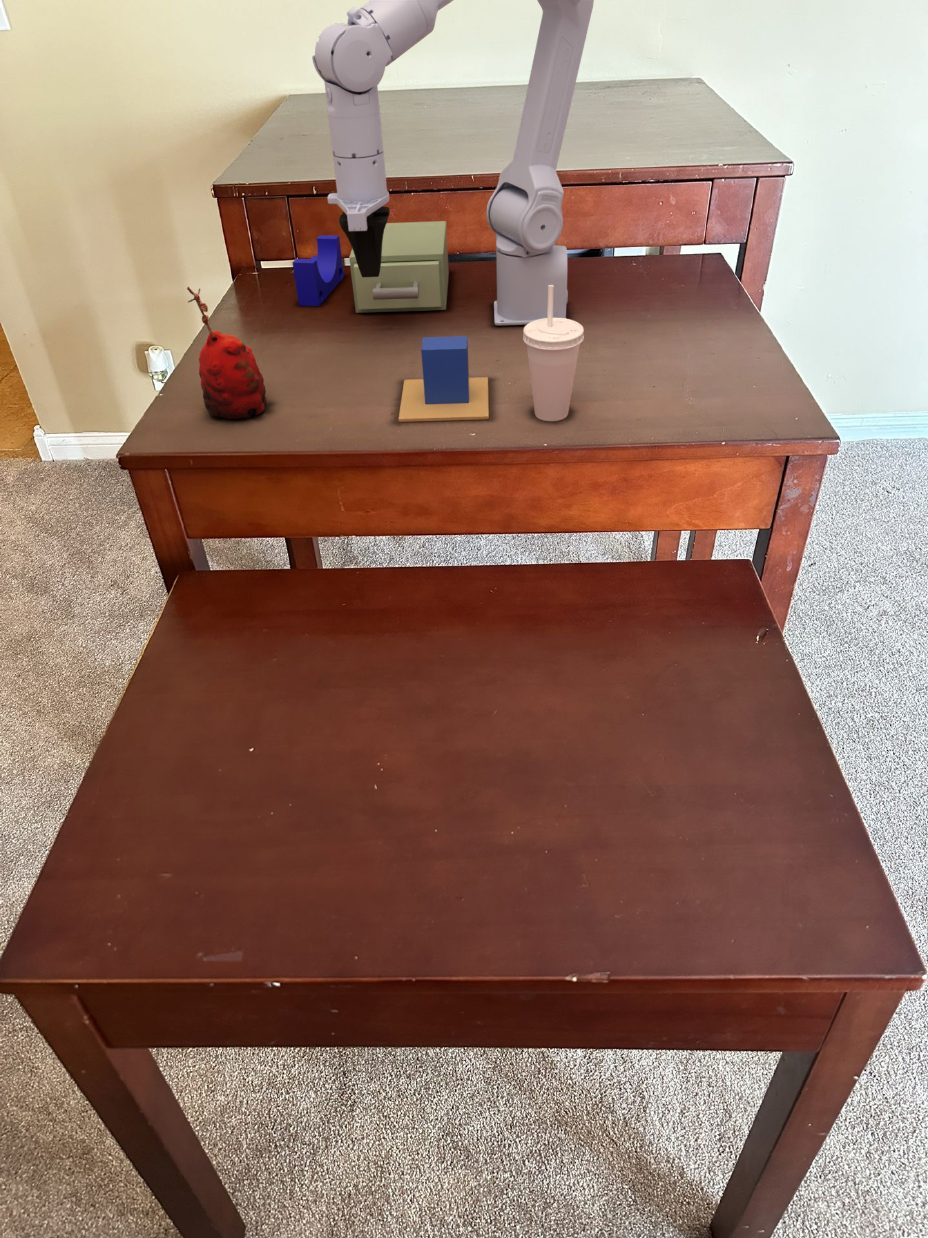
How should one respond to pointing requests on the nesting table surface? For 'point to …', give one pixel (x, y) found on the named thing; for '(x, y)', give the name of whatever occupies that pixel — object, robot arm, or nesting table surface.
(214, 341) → the red clay folk toy
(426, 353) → the blue rectangular block
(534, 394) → the smoothie
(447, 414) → the mat
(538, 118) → the robot arm
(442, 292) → the cabinet
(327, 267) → the cable clip
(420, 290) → the drawer
